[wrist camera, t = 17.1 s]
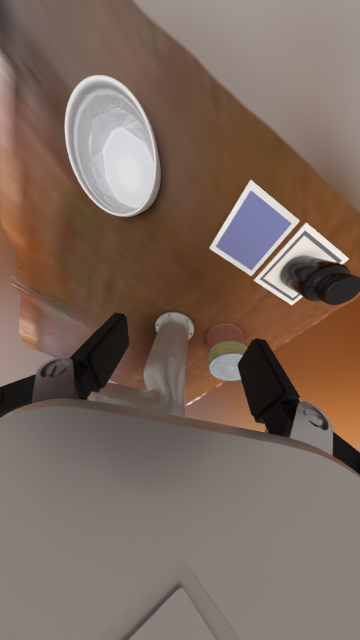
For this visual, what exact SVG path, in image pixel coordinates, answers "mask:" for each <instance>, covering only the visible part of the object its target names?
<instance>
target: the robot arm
mask: <svg viewBox="0 0 360 640" xmlns="http://www.w3.org/2000/svg"><path fill="white" fill-rule="evenodd" d="M155 328H156V331H157V335H156V337H155V340H154V343H153V345H152V348H151V351H150V353H149V356H148V359H147V361H146V364H145V367H144V372H143V375H144V381H145V385H146V387H147V390H148V391H146V390H140V389H136V388H131V387H127V386H123V385H119V384H114V383H107V382H108V380H109V379H110V377H111V375H112V374H113V372H114V370H115V368H116V367H117V365H118V363H119V362H120V360H121V358H122V356H123V355H124V353H125V351H126V350H127V348H128V346H129V337H128V326H127V317H126V316H124V314H121V313H114V314H113V315H112V316H111V317H110V318H109V319H108V320H107V321H106V322H105V323H104V324H103V325H102V326H101V327H100V328H99V329H98V330H97V331H96V332H95V333H94V334H93V335H92V336H91V337H90V338H89V339H88V340H87V341H86V342H85V343H84V344H83V345H82V346H81V347H80V348H79V349H78V350H77V351H76V352H75V353H74V354H73V355H72V356H71V357H70V358H68V357H58V358H54V359H52V360H49V361H48V362H46V363H44V364H43V365H42V366H41V367H40V368H39V369H38V370H37V373H36V375H32V376H30V377H27V378H24V379H21V380H18V381H16V382H13V383H10V384H7V385H5V386H2V387H0V640H360V452H358V451H357V450H356V449H355V448H353V447H352V446H351V445H349V444H348V443H347V442H346V441H344V440H343V439H342V438H341V437H339V436H338V435H337V434H336V433H334V432H333V428H332V424H331V422H330V420H329V419H328V418H327V416H326V415H325V414H324V413H323V412H322V411H321V410H320V409H318V408H317V407H316V406H315V405H313V404H311V403H308V402H306V401H301V402H300V401H299V399H298V398H299V397H300V396H299V395H298V393H297V391H296V390H295V388H294V386H293V385H292V383H291V381H290V380H289V378H288V376H287V375H286V373H285V372H284V370H283V368H282V366H281V365H280V363H279V361H278V360H277V358H276V357H275V355H274V353H273V352H272V350H271V348H270V347H269V345H268V343H267V342H266V340H263V339H257V338H256V339H255V340H252V341H251V343H250V345H249V346H248V348H247V350H246V351H245V353H244V354H243V356H242V358H241V359H240V361H239V362H238V370H239V373H240V377H241V380H242V384H243V387H244V390H245V394H246V397H247V401H248V404H249V408H250V411H251V414H252V416H254V418H255V421H256V422H257V423H263V424H264V423H265V426H266V430H265V433H264V432H259V431H254V430H248V429H244V428H239V427H233V426H228V425H223V424H218V423H213V422H207V421H201V420H196V419H191V418H186V415H185V396H184V391H185V374H186V362H187V350H188V340H189V339H190V338H191V337H192V336H193V333H194V324H193V322H192V320H191V319H190V318H189V317H188V316H187V315H185V314H183V313H181V312H177V311H170V312H166V313H163V314H162V315H160V316H159V318H158V319H157V321H156V324H155Z"/></svg>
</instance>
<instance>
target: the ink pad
mask: <svg viewBox="0 0 360 640" xmlns="http://www.w3.org/2000/svg"><path fill="white" fill-rule="evenodd" d="M298 222H299V220H298V219H297V218H296V217H295V216H293V215H292V214H291V213H290V212H289V211H287V210H286V209H285V208H284V207H283V206H281V205H280V204H279V203H278V202H277V201H275V200H274V199H273V198H272V197H271V196H269V195H268V194H267V193H266V192H265V191H263V190H262V189H261V188H260V187H259V186H258V185H256V184H255V183H254V182H253V181H252V180H250V181H249V182H248V184H247V185H246V187H245V189H244V190H243V192H242V194H241V195H240V197H239V199H238V200H237V202H236V204H235V205H234V207H233V209H232V210H231V212H230V214H229V215H228V217H227V219H226V220H225V222H224V224H223V225H222V227H221V229H220V230H219V232H218V234H217V235H216V237H215V239H214V240H213V242H212V244H211V245H210V247H209V249H211V250H212V251H214V252H215V253H217V254H218V255H220V256H221V257H223V258H224V259H226V260H227V261H229V262H230V263H232V264H233V265H235V266H237V267H238V268H240V269H241V270H243V271H244V272H246V273H247V274H249V275H250V276H252V275H253V274H254V273H255V271H256V270H257V269H258V268H259V267H260V266H261V265H262V263H263V262H264V261H265V260H266V259H267V258H268V257H269V255H270V254H271V253H272V252H273V251H274V250H275V249H276V248H277V246H278V245H279V244H280V243H281V242H282V241H283V240H284V238H285V237H286V236H287V235H288V234H289V233H290V232H291V230H292V229H293V228H294V227H295V226H296V225H297V224H298Z"/></svg>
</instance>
